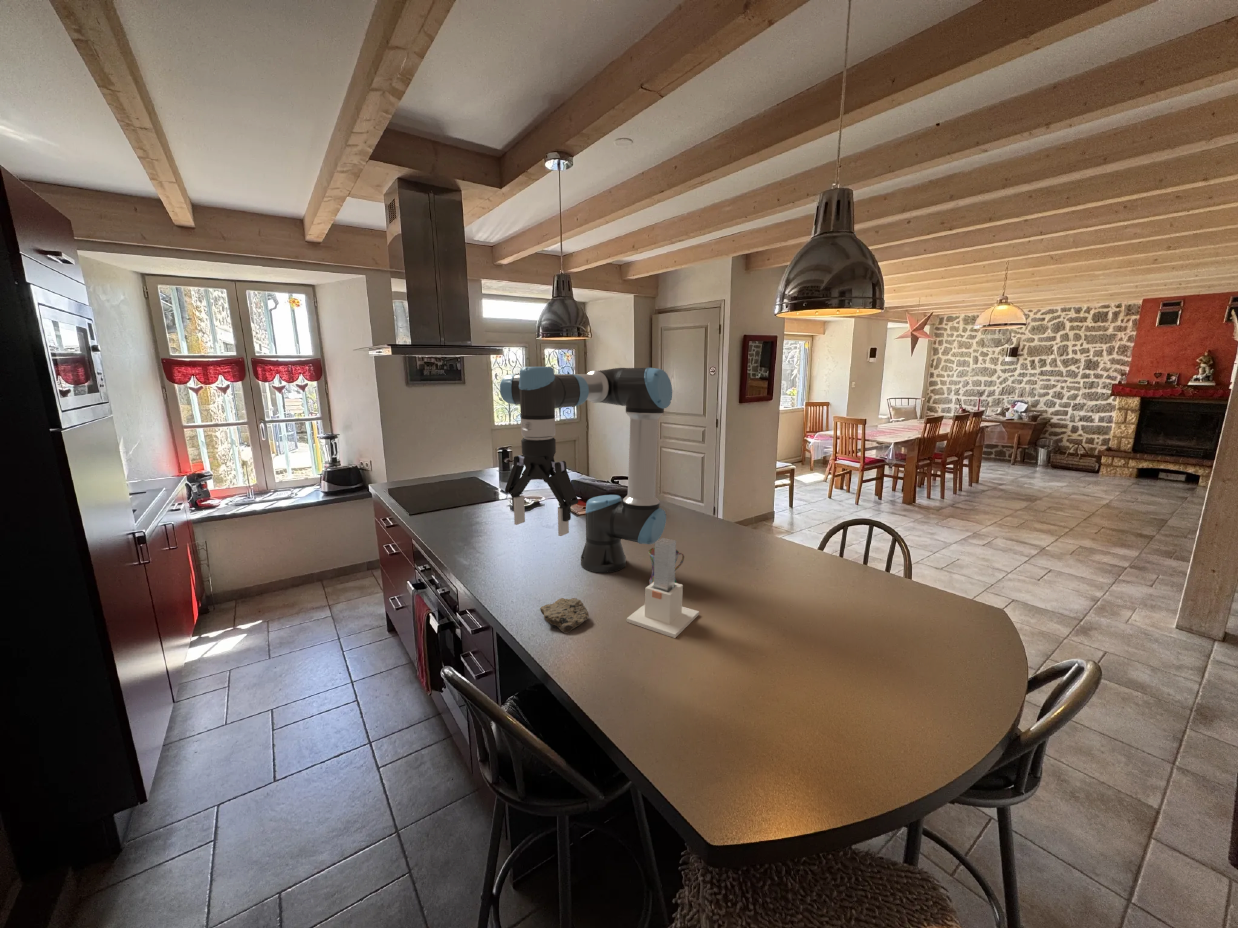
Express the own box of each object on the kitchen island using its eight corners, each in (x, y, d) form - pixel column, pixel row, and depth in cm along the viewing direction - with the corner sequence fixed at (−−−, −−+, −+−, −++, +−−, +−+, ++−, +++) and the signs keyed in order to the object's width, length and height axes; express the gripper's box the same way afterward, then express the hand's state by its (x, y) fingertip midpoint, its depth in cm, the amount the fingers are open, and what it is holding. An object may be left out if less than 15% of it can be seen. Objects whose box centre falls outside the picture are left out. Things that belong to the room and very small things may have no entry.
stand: (653, 600, 139) (653, 571, 137) (698, 614, 131) (700, 583, 130) (626, 621, 127) (627, 589, 126) (674, 638, 120) (676, 603, 118)
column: (660, 608, 132) (662, 537, 128) (674, 612, 130) (676, 540, 126) (652, 614, 128) (654, 542, 125) (666, 619, 126) (669, 545, 122)
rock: (550, 636, 120) (550, 620, 119) (538, 615, 131) (537, 600, 130) (592, 627, 125) (592, 611, 124) (577, 607, 135) (577, 592, 134)
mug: (657, 594, 143) (658, 559, 141) (642, 582, 151) (642, 549, 149) (691, 586, 148) (693, 553, 146) (674, 575, 157) (675, 543, 154)
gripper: (486, 434, 113) (491, 522, 117) (571, 444, 99) (572, 544, 103) (511, 431, 119) (514, 515, 123) (593, 440, 105) (594, 534, 109)
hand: (541, 528), depth 113 cm, fingers open, 13 cm apart
